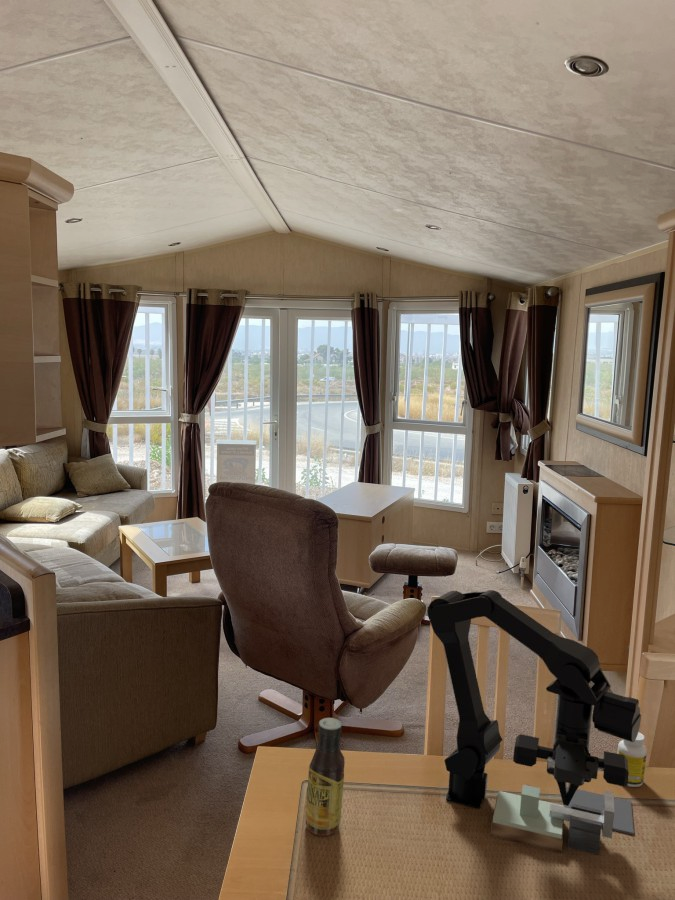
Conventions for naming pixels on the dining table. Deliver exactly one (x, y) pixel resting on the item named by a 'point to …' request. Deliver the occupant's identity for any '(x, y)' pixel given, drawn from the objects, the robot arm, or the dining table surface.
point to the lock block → (584, 831)
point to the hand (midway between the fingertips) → (565, 804)
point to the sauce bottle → (325, 781)
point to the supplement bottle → (634, 759)
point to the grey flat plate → (595, 801)
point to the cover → (527, 812)
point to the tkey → (590, 814)
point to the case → (526, 836)
